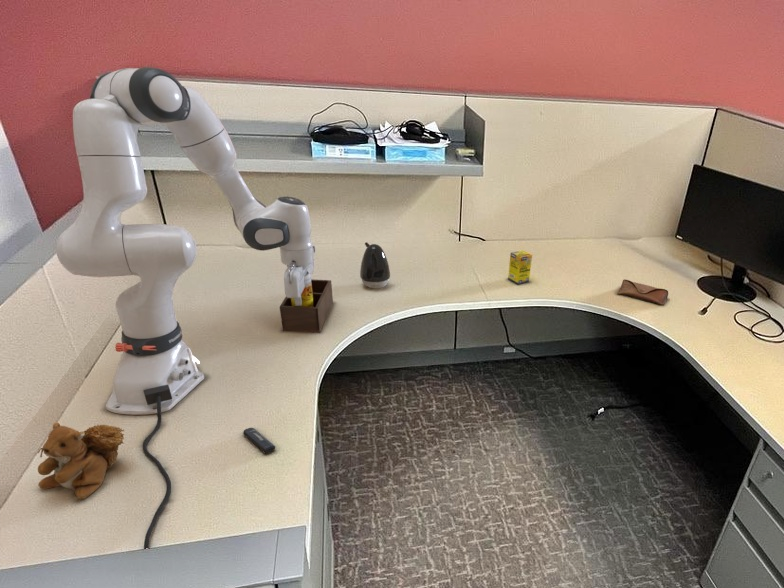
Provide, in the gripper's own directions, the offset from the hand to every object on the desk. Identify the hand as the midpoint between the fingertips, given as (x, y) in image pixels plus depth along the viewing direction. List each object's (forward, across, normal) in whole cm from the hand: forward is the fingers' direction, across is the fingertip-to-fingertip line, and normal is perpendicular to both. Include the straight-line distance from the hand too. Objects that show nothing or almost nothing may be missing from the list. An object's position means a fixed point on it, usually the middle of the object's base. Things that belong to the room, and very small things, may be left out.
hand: (302, 299), depth 166 cm
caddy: (+8, +5, 0) cm, 9 cm away
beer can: (+7, 0, 0) cm, 7 cm away
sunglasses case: (+8, +31, -116) cm, 120 cm away
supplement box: (+8, +41, -70) cm, 81 cm away
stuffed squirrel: (+8, -67, +26) cm, 72 cm away
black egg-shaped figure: (+8, +30, -18) cm, 36 cm away
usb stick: (+8, -56, -3) cm, 57 cm away
